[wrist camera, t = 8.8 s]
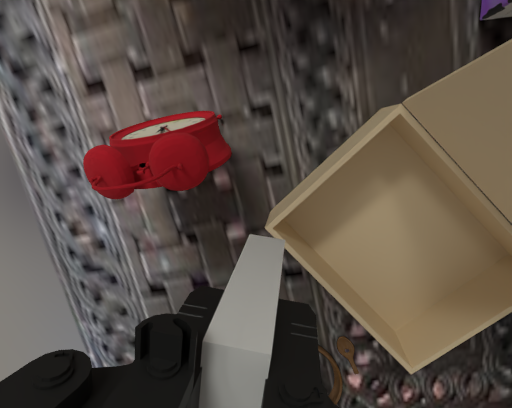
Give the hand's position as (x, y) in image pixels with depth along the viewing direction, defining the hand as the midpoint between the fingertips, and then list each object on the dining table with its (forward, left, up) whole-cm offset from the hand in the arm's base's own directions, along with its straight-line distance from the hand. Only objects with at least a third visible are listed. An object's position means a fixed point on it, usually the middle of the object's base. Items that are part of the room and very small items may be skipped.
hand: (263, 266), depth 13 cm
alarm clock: (-10, -4, -21) cm, 23 cm away
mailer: (+11, +4, -20) cm, 24 cm away
